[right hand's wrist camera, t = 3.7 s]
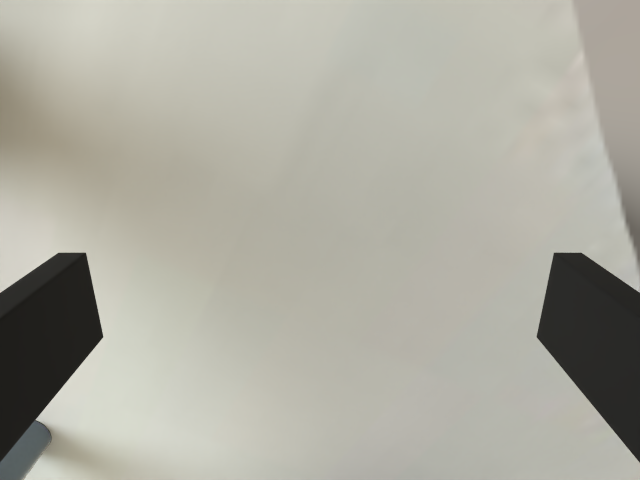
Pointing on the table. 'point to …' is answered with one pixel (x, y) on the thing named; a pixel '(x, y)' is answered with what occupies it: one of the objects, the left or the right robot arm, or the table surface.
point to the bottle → (25, 453)
